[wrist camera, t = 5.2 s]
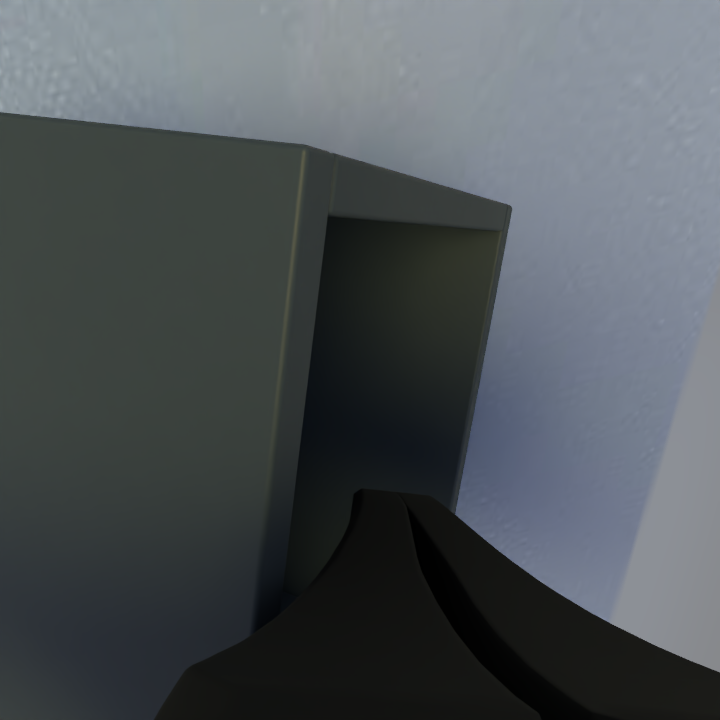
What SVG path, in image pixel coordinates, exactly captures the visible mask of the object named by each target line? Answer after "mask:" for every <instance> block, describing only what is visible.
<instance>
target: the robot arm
mask: <svg viewBox="0 0 720 720" xmlns="http://www.w3.org/2000/svg"><path fill="white" fill-rule="evenodd" d="M154 720H720V673H719V672H717V671H714V670H712V669H709V668H707V667H704V666H702V665H699V664H697V663H694V662H691V661H689V660H687V659H685V658H682V657H680V656H677V655H675V654H673V653H671V652H669V651H666V650H664V649H662V648H659V647H657V646H655V645H653V644H651V643H649V642H647V641H645V640H643V639H641V638H638V637H637V636H634V635H633V634H630V633H628V632H626V631H624V630H622V629H620V628H618V627H616V626H614V625H612V624H610V623H609V622H607V621H605V620H603V619H601V618H599V617H597V616H596V615H594V614H592V613H590V612H588V611H587V610H585V609H583V608H582V607H580V606H578V605H577V604H575V603H573V602H572V601H570V600H568V599H567V598H565V597H563V596H562V595H560V594H558V593H557V592H555V591H554V590H552V589H551V588H549V587H548V586H546V585H545V584H543V583H541V582H540V581H539V580H537V579H536V578H534V577H533V576H532V575H530V574H529V573H527V572H526V571H525V570H523V569H522V568H520V567H519V566H518V565H516V564H515V563H514V562H512V561H511V560H510V559H508V558H507V557H506V556H504V555H503V554H502V553H501V552H499V551H498V550H497V549H495V548H494V547H493V546H492V545H490V544H489V543H488V542H487V541H486V540H484V539H483V538H482V537H481V536H480V535H478V534H477V533H476V532H475V531H474V530H472V529H471V528H470V527H469V526H468V525H466V524H465V523H464V522H463V521H462V520H461V519H459V518H458V517H457V516H456V515H455V514H454V513H452V512H451V511H450V510H449V509H448V508H446V507H445V506H444V505H443V504H442V503H440V502H439V501H438V500H436V499H435V498H433V497H432V496H430V495H421V494H411V493H402V492H392V491H383V490H373V489H364V488H361V489H360V490H358V491H357V492H355V493H354V495H353V502H352V508H351V515H350V521H349V525H348V527H347V529H346V531H345V533H344V536H343V537H342V539H341V541H340V543H339V544H338V546H337V548H336V549H335V551H334V552H333V554H332V556H331V557H330V559H329V560H328V562H327V563H326V565H325V566H324V567H323V569H322V570H321V571H320V573H319V574H318V575H317V577H316V578H315V579H314V580H313V581H312V582H311V584H310V585H309V586H308V587H307V588H306V589H305V590H304V591H303V592H302V593H301V594H300V595H299V596H298V597H297V598H296V599H295V600H294V601H293V602H292V603H291V604H290V605H289V606H288V607H287V608H286V609H285V610H284V611H283V612H281V613H280V614H279V615H278V616H277V617H276V618H274V619H273V620H272V621H270V622H269V623H267V624H266V625H265V626H263V627H262V628H260V629H259V630H258V631H256V632H255V633H254V634H252V635H251V636H249V637H248V638H246V639H245V640H243V641H241V642H239V643H237V644H235V645H233V646H231V647H229V648H227V649H225V650H223V651H221V652H219V653H217V654H215V655H213V656H211V657H209V658H207V659H205V660H203V661H200V662H198V663H196V664H193V665H191V666H190V667H189V668H187V669H186V670H185V671H184V673H183V674H182V676H181V677H180V678H179V680H178V681H177V683H176V685H175V686H174V688H173V689H172V691H171V692H170V694H169V696H168V697H167V699H166V700H165V702H164V703H163V705H162V706H161V708H160V710H159V712H158V713H157V715H156V717H155V718H154Z"/></svg>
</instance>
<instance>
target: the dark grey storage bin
mask: <svg viewBox="0 0 720 720" xmlns="http://www.w3.org/2000/svg"><path fill="white" fill-rule="evenodd" d="M511 212H512V207H511V206H510V205H507V204H503V203H500V202H497V201H493V200H490V199H486V198H483V197H480V196H476V195H473V194H470V193H466V192H463V191H459V190H456V189H453V188H449V187H446V186H443V185H439V184H436V183H432V182H429V181H426V180H422V179H419V178H416V177H412V176H409V175H405V174H402V173H399V172H395V171H392V170H388V169H385V168H382V167H378V166H375V165H372V164H368V163H365V162H361V161H358V160H355V159H351V158H348V157H345V156H341V155H338V154H334V153H330V152H328V151H325V150H321V149H318V148H315V147H311V146H308V145H303V144H293V143H284V142H274V141H265V140H256V139H246V138H237V137H227V136H218V135H209V134H199V133H190V132H180V131H171V130H162V129H152V128H143V127H133V126H124V125H114V124H105V123H96V122H86V121H77V120H67V119H58V118H49V117H39V116H30V115H20V114H11V113H1V112H0V720H154V718H155V717H156V715H157V713H158V712H159V710H160V708H161V706H162V705H163V703H164V702H165V700H166V699H167V697H168V696H169V694H170V692H171V691H172V689H173V688H174V686H175V685H176V683H177V681H178V680H179V678H180V677H181V676H182V674H183V673H184V671H185V670H186V669H187V668H189V667H190V666H191V665H193V664H196V663H198V662H200V661H203V660H205V659H207V658H209V657H211V656H213V655H215V654H217V653H219V652H221V651H223V650H225V649H227V648H229V647H231V646H233V645H235V644H237V643H239V642H241V641H243V640H245V639H246V638H248V637H249V636H251V635H252V634H254V633H255V632H256V631H258V630H259V629H260V628H262V627H263V626H265V625H266V624H267V623H269V622H270V621H272V620H273V619H274V618H276V617H277V616H278V615H279V614H280V613H281V612H283V611H284V610H285V609H286V608H287V607H288V606H289V605H290V604H291V603H292V602H293V601H294V600H295V599H296V598H297V597H298V596H299V595H300V594H301V593H302V592H303V591H304V590H305V589H306V588H307V587H308V586H309V585H310V584H311V582H312V581H313V580H314V579H315V578H316V577H317V575H318V574H319V573H320V571H321V570H322V569H323V567H324V566H325V565H326V563H327V562H328V560H329V559H330V557H331V556H332V554H333V552H334V551H335V549H336V548H337V546H338V544H339V543H340V541H341V539H342V537H343V536H344V533H345V531H346V529H347V527H348V525H349V521H350V515H351V508H352V502H353V495H354V493H355V492H357V491H358V490H360V489H361V488H364V489H373V490H383V491H392V492H402V493H411V494H421V495H430V496H432V497H433V498H435V499H436V500H438V501H439V502H440V503H442V504H443V505H444V506H445V507H446V508H448V509H449V510H450V511H451V512H452V513H454V514H455V511H456V505H457V500H458V495H459V489H460V484H461V479H462V473H463V468H464V463H465V457H466V452H467V447H468V441H469V436H470V431H471V425H472V420H473V415H474V409H475V404H476V399H477V393H478V388H479V383H480V377H481V372H482V367H483V361H484V356H485V351H486V345H487V340H488V335H489V329H490V324H491V319H492V313H493V308H494V303H495V297H496V292H497V287H498V281H499V276H500V271H501V265H502V260H503V255H504V249H505V244H506V239H507V233H508V228H509V223H510V217H511Z"/></svg>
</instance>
